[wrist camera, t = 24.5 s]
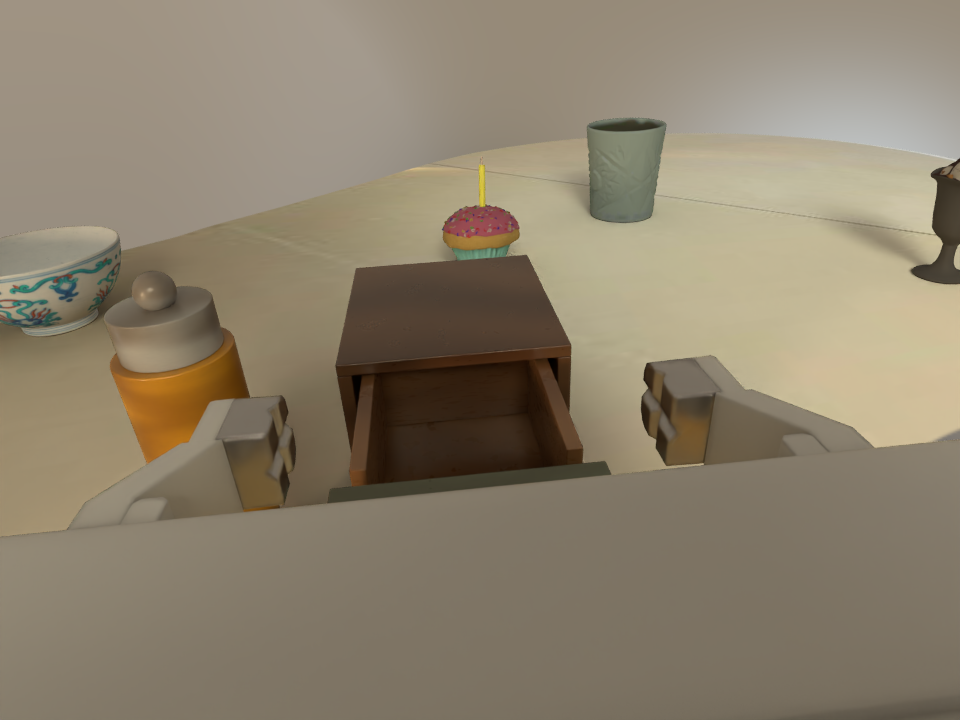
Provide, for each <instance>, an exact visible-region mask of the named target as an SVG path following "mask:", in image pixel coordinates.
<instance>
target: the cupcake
mask: <svg viewBox="0 0 960 720" xmlns="http://www.w3.org/2000/svg"><path fill="white" fill-rule="evenodd" d="M509 213H510V212H506V211H505V210H504V209H501V208H498V207H496V206H495V207H492V206H490V205H488V206H487V205H485V165H483V157H481V165H479V206H477V205H475V206H474V207H467V206H466V207H464V208H462V209H459V211H457V212H456V213H455V212H454V214H453V215H452V216H450V217H449V218H448V220H447V221H445V222H446V223H445V225H444V227H443V229H442V230H443V231H444V232H443V240H444V242H445V243H446V244H447V245H448V246H449V247H450V248H452V250H453V251H454V253H455V255H456V257H457V259H458V260H469V259H482V258H494V257H506V254H507V251H508V248H509V246H510V244H511V243H512V242H514V241H516V240H517V239H518V238H519V225H518V222H517V221H516V219H515V218H514V216H513V215H511V214H509Z"/></svg>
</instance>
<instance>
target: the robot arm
mask: <svg viewBox="0 0 960 720" xmlns="http://www.w3.org/2000/svg"><path fill="white" fill-rule="evenodd" d="M643 380H644V381H645V383H646V385H647V386H648V389H647V391H646V392H645V393H644V394H643V396H642V401H641V413H642V421H643V424H644V427H645V429H646V431H647V433H648V435H649V436H651V437H653V438H654V439H656V449H657V451H658V452H659V454H660V456H661V458H662V459H663V461H664V463H665V464H666V466H672V465H686V464H699V463H704V465H702V466H692V467H682V468H672V469H662V470H653V471H643V472H633V473H623V474H613V475H603V476H594V477H584V478H574V479H564V480H554V481H544V482H535V483H525V484H515V485H505V486H495V487H485V488H475V489H465V490H456V491H446V492H436V493H426V494H416V495H406V496H396V497H386V498H377V499H367V500H357V501H347V502H337V503H327V504H317V505H307V506H297V507H288V508H278V509H268V510H258V511H249V512H244V511H243V510H246V509H253V508H261V507H269V506H277V505H284V503H285V500H286V496H287V492H288V488H289V485H290V483H289V479H288V474H289V473H291V472H292V471H293V469H294V465H295V457H296V446H295V438H294V434H293V429H292V428H291V427H289V426H288V425H287V424H286V423H285V422H286V419H287V416H288V409H287V405H286V401H285V399H284V397H283V396H282V395H280V396H266V397H252V398H238V399H234V398H233V399H224V400H215V401H212V402H210V403H209V404H208V406H207V408H206V410H205V412H204V414H203V416H202V417H201V419H200V421H199V423H198V425H197V427H196V429H195V431H194V432H193V434H192V436H191V438H190V440H189V442H187V443H181V444H179V445H177V446H176V447H174V448H172V449H171V450H169V451H168V452H166V453H164V454H163V455H161V456H160V457H158V458H156V459H155V460H153V461H152V462H150V463H148V464H147V465H145V466H143V467H142V468H140V469H139V470H137V471H135V472H134V473H132V474H131V475H129V476H127V477H126V478H124V479H122V480H121V481H119V482H118V483H116V484H114V485H113V486H111V487H110V488H108V489H106V490H105V491H103V492H102V493H100V494H98V495H97V496H95V497H93V498H92V499H90V500H89V501H87V502H85V503H84V505H83V506H82V508H81V509H80V511H79V512H78V514H77V515H76V517H75V518H74V519H73V521H72V522H71V524H70V525H69V527H68V528H67V530H62V531H52V532H42V533H32V534H22V535H12V536H2V537H0V720H960V439H959V440H948V441H938V442H928V443H918V444H908V445H899V446H889V447H879V448H874V447H873V446H872V445H871V444H870V443H869V442H868V441H867V440H866V439H865V438H864V437H862V436H861V435H860V434H859V433H858V432H857V431H856V430H855V429H854V428H853V427H850V426H848V425H845V424H842V423H840V422H837V421H834V420H832V419H829V418H827V417H824V416H821V415H819V414H816V413H813V412H811V411H808V410H805V409H803V408H800V407H797V406H795V405H792V404H789V403H787V402H784V401H781V400H779V399H776V398H773V397H771V396H768V395H766V394H763V393H760V392H758V391H755V390H752V389H751V390H745V389H744V388H743V387H742V386H741V385H740V383H739V382H738V381H737V380H736V379H735V378H734V377H733V376H732V375H731V374H730V373H729V371H728V370H727V369H726V368H725V367H724V366H723V365H722V364H721V363H720V362H719V361H718V359H717V358H716V357H714V356H711V355H709V356H702V357H694V358H685V359H676V360H668V361H659V362H651V363H647V364H646V367H645V370H644V379H643Z"/></svg>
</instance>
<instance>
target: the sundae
mask: <svg viewBox="0 0 960 720" xmlns="http://www.w3.org/2000/svg"><path fill="white" fill-rule="evenodd" d="M931 177H932V178H934V179H935V180H936V181H937V195H936V201H935V206H934V212H933V222H932V228H933V230H934V232H935V233H936V235H937V236H938V237H939V238H940V239H941V240H942V242H943V246H942V249H941V252H940V254H939V256H938V258H937V260H936V261H935V262H934V263H932V264H931V265H920V266H916V267H914V268H913V269H912V272H913V273H914V274H915V275H916V276H917V277H920V278H922V279H925V280H928V281H932V282H937V283H945V284H960V270H958V269H956V268H955V266H954V255H955V252H956V249H957V246H958V245H959V244H960V159H958V160H957V161H956V162H954V163H952V164H950V165H949V166H947V167H941V168H938V169H936V170H934V171H933V172H932V173H931Z"/></svg>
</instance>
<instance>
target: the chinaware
mask: <svg viewBox="0 0 960 720" xmlns="http://www.w3.org/2000/svg"><path fill="white" fill-rule="evenodd" d="M120 262H121V248H120V239H119V235H118V233H117V232H116V231H114V230H112V229H110V228H106V227H99V226H70V227H58V228H50V229H43V230H36V231H30V232H25V233H20V234H15V235H10V236H6V237H2V238H0V323H4V324H7V325H11V326H16V327H21V328H22V330H23V332H24V333H25V334H27V335H30V336H52V335H57V334H62V333H66V332H70V331H73V330H76V329H78V328H81V327H83V326H85V325H87V324H89V323H91V322H92V321H93V320H95V319H96V317H97V316H98V310H97V307H98V306H99V305H100V304H101V303H102V302H103V301H104V300H105V299H106V298H107V296H108V295H109V293H110V292H111V290H112V289H113V287H114V285H115V282H116V280H117V277H118V274H119V269H120Z"/></svg>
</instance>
